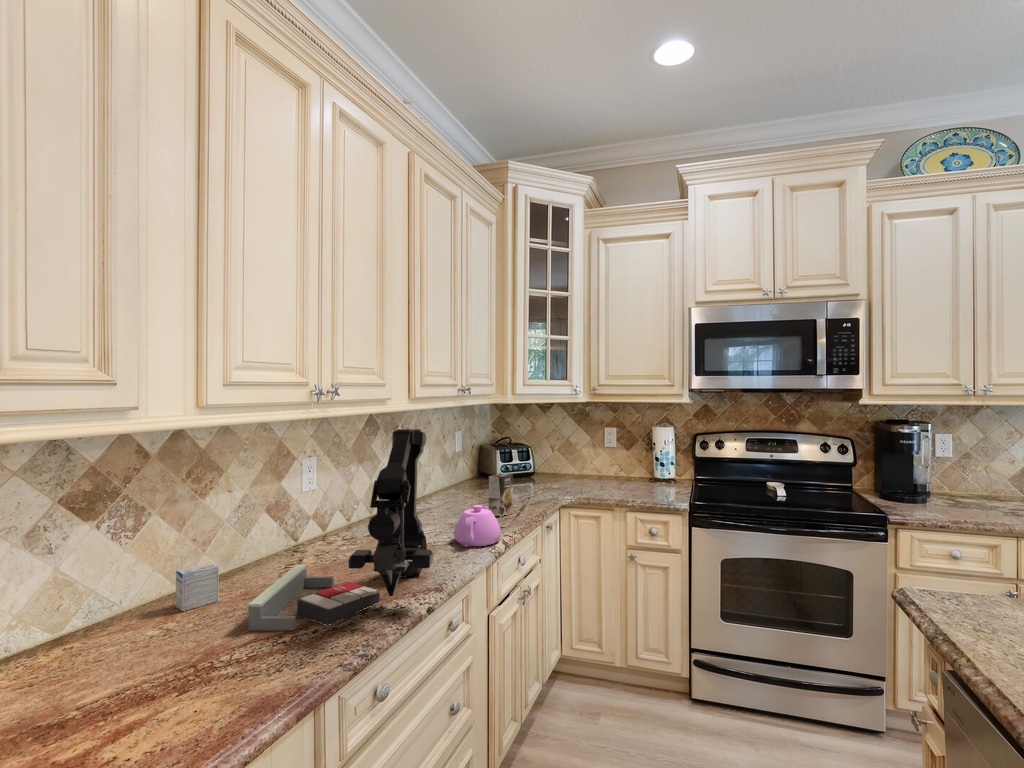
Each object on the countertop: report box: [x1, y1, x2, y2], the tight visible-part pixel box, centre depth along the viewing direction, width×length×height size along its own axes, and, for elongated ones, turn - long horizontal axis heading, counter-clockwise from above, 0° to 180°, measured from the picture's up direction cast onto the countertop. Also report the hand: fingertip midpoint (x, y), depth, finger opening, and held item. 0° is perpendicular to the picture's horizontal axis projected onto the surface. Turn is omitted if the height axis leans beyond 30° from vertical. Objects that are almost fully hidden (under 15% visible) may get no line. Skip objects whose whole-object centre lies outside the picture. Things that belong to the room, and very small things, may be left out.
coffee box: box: [488, 473, 514, 516], centre depth 221 cm, size 9×6×16 cm
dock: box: [247, 564, 335, 631], centre depth 128 cm, size 26×10×6 cm, turn 0°
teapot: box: [453, 504, 502, 547], centre depth 182 cm, size 22×16×12 cm
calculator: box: [296, 581, 381, 626], centre depth 126 cm, size 11×4×15 cm
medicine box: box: [175, 562, 220, 612], centre depth 129 cm, size 8×4×9 cm, turn 141°
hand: (391, 595), depth 128 cm, fingers closed
